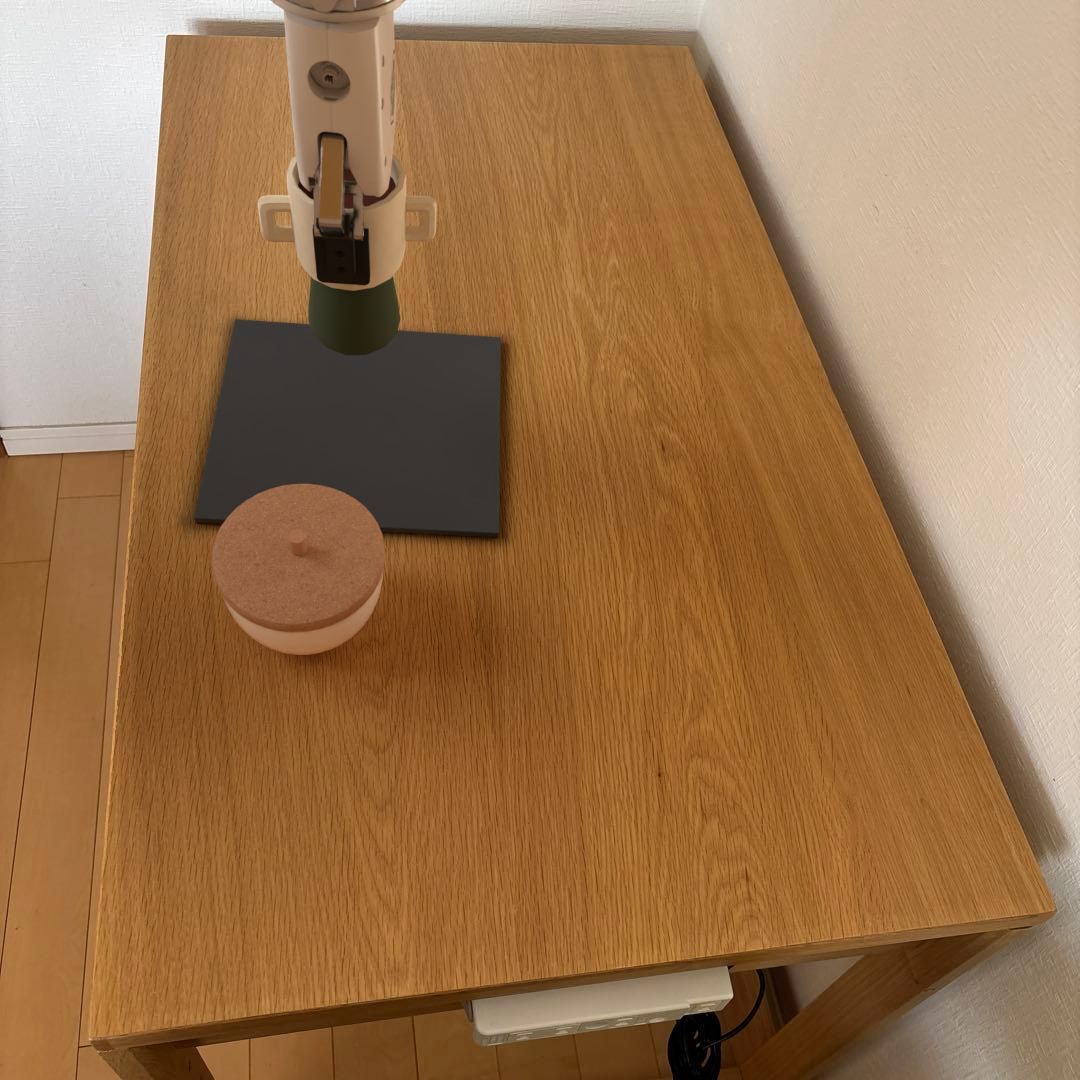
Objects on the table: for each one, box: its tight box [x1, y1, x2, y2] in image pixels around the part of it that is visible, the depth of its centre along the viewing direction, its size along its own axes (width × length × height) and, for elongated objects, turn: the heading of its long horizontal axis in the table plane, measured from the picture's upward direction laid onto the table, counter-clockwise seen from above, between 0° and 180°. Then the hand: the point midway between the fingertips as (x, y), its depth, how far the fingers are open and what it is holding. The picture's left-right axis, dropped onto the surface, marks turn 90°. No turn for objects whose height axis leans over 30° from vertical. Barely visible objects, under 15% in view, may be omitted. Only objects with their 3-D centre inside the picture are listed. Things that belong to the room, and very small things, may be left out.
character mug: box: [257, 154, 438, 355], centre depth 67 cm, size 11×7×13 cm, turn 98°
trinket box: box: [211, 484, 386, 656], centre depth 67 cm, size 11×11×9 cm
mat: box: [193, 318, 502, 538], centre depth 80 cm, size 22×20×1 cm
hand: (349, 235), depth 65 cm, fingers closed on character mug, 7 cm apart
